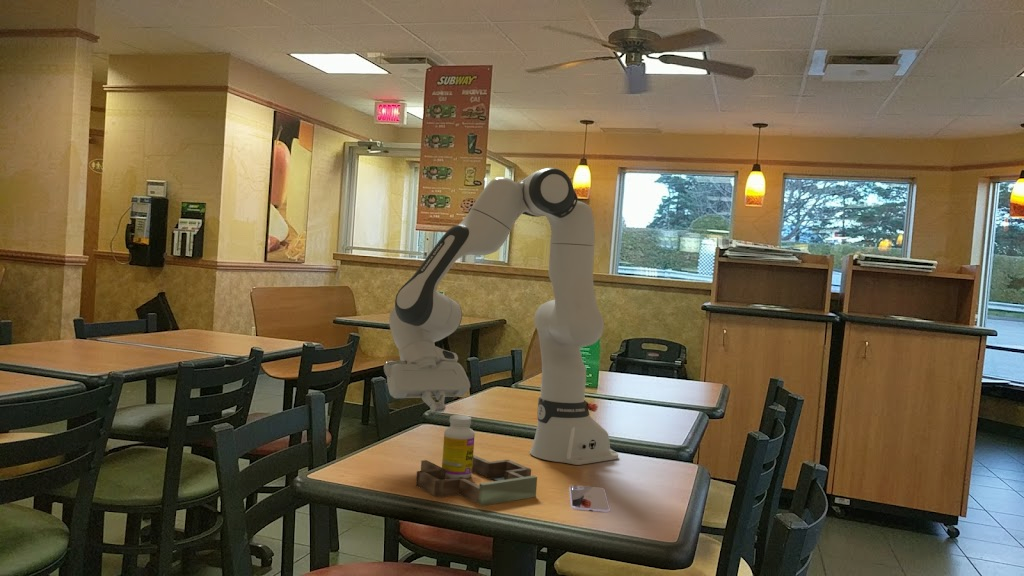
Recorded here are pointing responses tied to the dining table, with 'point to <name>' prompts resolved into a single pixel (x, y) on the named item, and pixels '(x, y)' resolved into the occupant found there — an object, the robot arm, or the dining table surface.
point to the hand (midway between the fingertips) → (439, 410)
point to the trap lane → (506, 487)
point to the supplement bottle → (458, 447)
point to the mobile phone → (588, 498)
